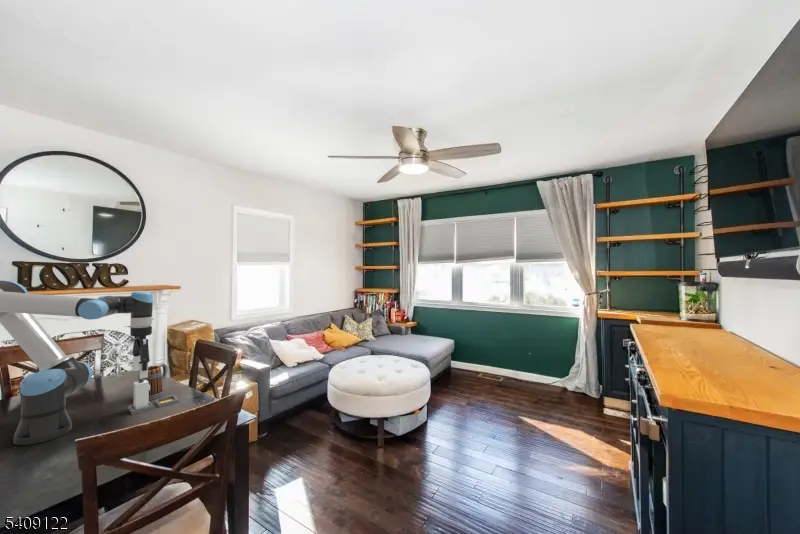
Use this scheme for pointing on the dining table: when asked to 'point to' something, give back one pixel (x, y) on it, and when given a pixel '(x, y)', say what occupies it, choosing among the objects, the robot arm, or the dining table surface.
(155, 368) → the mug
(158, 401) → the panel
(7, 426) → the dining table surface
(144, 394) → the plug
